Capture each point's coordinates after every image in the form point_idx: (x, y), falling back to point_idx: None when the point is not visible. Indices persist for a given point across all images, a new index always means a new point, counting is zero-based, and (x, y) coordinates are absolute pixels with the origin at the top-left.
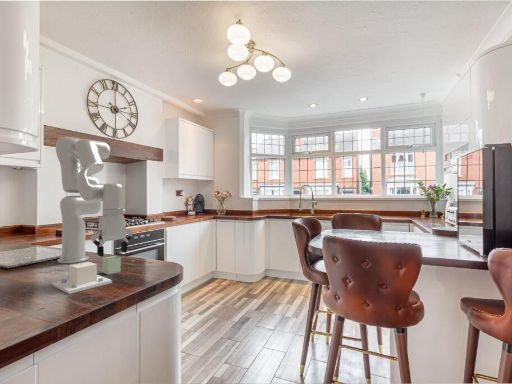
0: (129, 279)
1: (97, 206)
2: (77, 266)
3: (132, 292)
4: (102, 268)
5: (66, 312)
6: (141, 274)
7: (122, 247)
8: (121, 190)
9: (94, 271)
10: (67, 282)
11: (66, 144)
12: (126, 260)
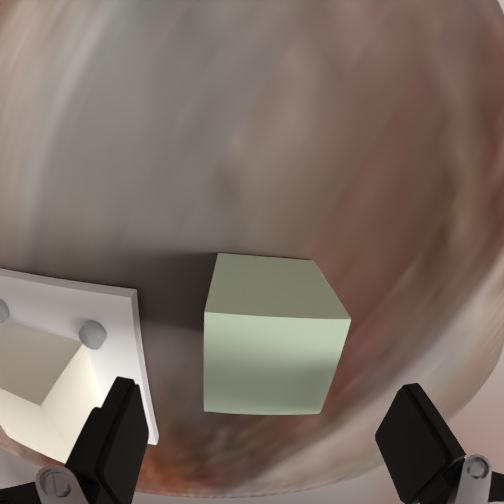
0: (235, 445)
1: None
2: (4, 422)
3: (171, 493)
4: (215, 264)
5: (38, 452)
6: (316, 430)
7: (410, 438)
8: None
9: None
10: (11, 326)
11: None
12: (494, 106)
